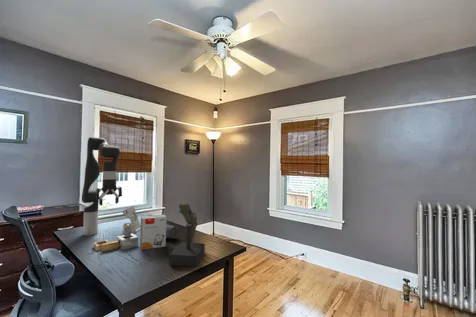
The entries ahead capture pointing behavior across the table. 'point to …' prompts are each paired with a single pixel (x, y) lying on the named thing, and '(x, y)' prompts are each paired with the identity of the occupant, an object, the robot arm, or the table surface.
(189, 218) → the olive green upright piece
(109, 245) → the bar
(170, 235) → the bluetooth speaker
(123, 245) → the socket block
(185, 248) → the joystick
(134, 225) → the phone holder
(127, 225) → the grey metal cylinder
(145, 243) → the hard drive box
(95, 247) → the wooden square frame
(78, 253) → the table surface
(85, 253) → the table surface
